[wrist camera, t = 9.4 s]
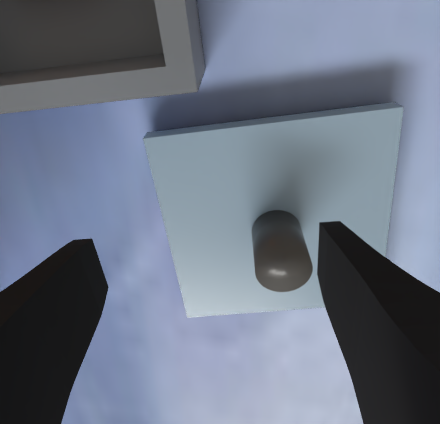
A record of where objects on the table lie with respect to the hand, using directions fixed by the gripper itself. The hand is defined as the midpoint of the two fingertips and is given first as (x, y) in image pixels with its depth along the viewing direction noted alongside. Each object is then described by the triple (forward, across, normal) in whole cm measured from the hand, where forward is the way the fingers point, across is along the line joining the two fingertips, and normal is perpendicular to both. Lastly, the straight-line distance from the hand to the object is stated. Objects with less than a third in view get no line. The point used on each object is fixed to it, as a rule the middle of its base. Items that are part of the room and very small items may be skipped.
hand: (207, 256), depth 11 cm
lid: (+9, -3, +5) cm, 11 cm away
